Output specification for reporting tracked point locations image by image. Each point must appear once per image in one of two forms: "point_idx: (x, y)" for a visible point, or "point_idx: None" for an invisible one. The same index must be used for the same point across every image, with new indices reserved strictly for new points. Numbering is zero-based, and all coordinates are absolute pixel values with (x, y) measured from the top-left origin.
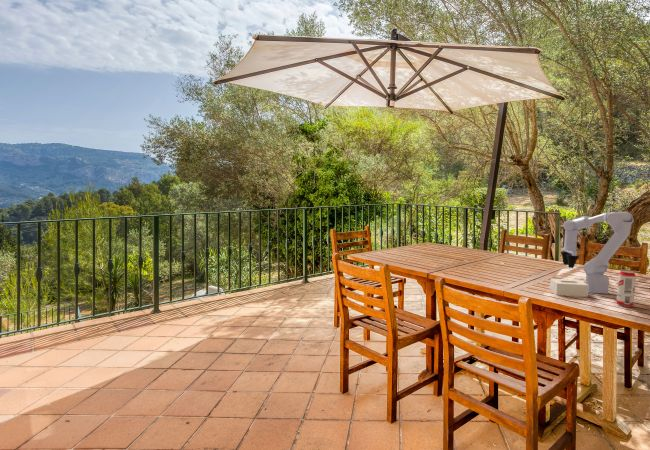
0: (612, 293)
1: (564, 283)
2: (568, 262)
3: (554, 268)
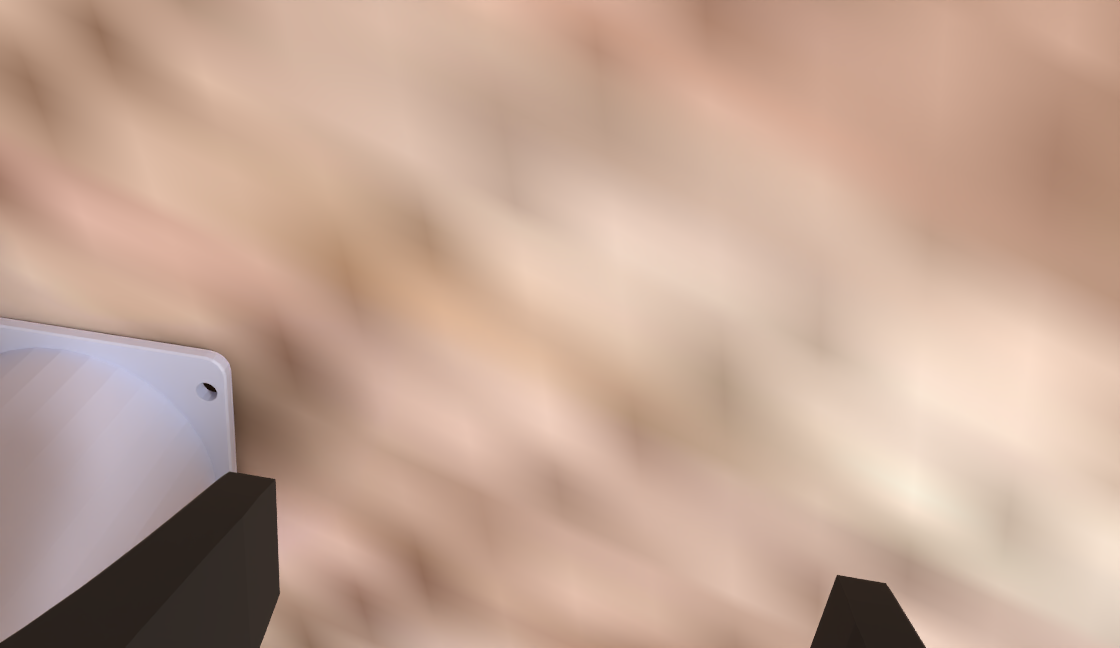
0: None
1: None
2: (97, 611)
3: None
